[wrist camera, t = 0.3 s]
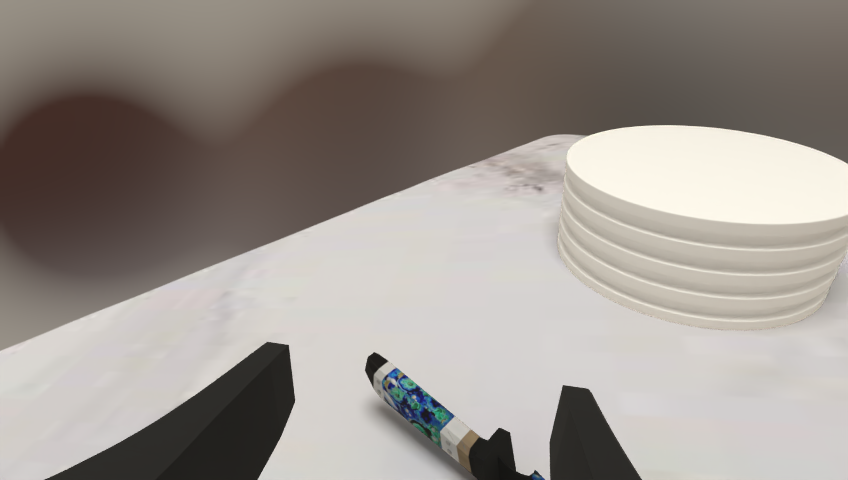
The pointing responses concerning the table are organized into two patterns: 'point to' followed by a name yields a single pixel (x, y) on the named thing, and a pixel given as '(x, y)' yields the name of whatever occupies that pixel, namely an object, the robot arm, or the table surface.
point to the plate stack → (704, 224)
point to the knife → (445, 425)
